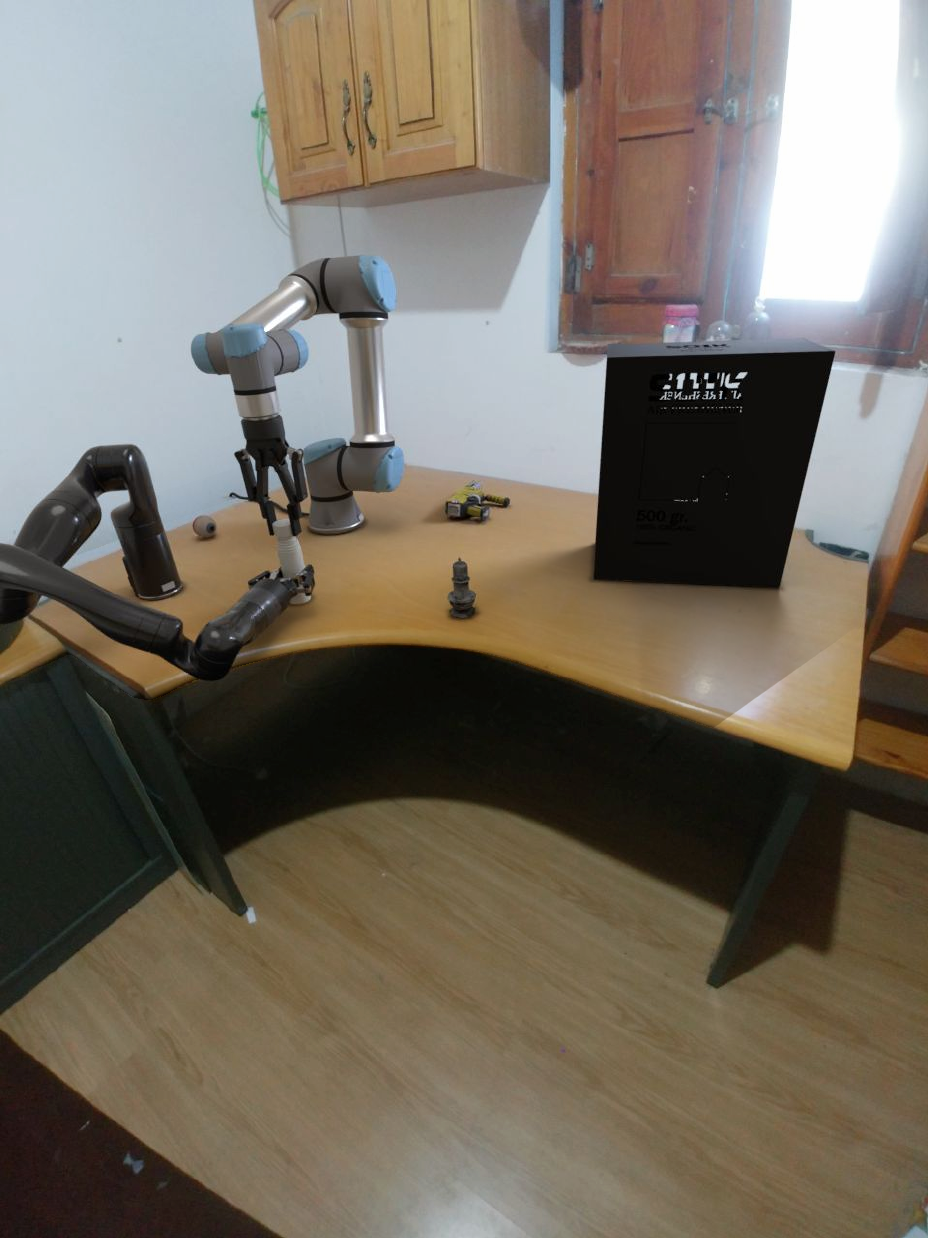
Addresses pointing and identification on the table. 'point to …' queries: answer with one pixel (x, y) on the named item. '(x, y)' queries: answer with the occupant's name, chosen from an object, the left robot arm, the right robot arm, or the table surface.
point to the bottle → (291, 563)
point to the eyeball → (204, 526)
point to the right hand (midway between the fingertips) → (285, 533)
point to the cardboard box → (706, 459)
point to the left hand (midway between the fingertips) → (299, 567)
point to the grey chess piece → (461, 592)
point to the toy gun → (472, 502)
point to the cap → (282, 528)
